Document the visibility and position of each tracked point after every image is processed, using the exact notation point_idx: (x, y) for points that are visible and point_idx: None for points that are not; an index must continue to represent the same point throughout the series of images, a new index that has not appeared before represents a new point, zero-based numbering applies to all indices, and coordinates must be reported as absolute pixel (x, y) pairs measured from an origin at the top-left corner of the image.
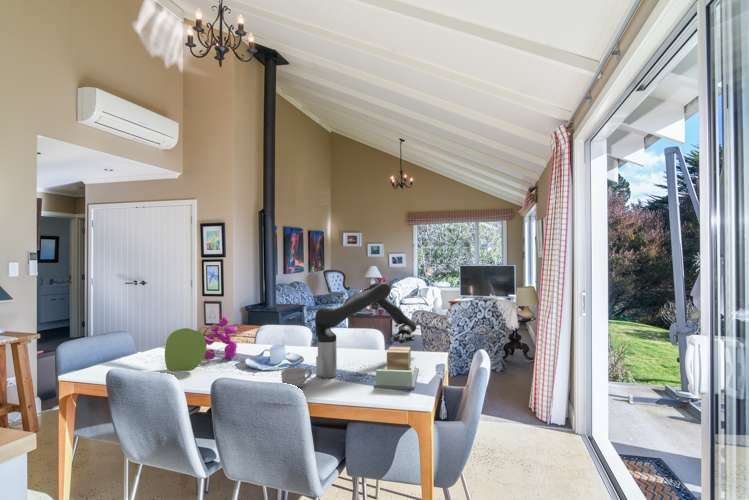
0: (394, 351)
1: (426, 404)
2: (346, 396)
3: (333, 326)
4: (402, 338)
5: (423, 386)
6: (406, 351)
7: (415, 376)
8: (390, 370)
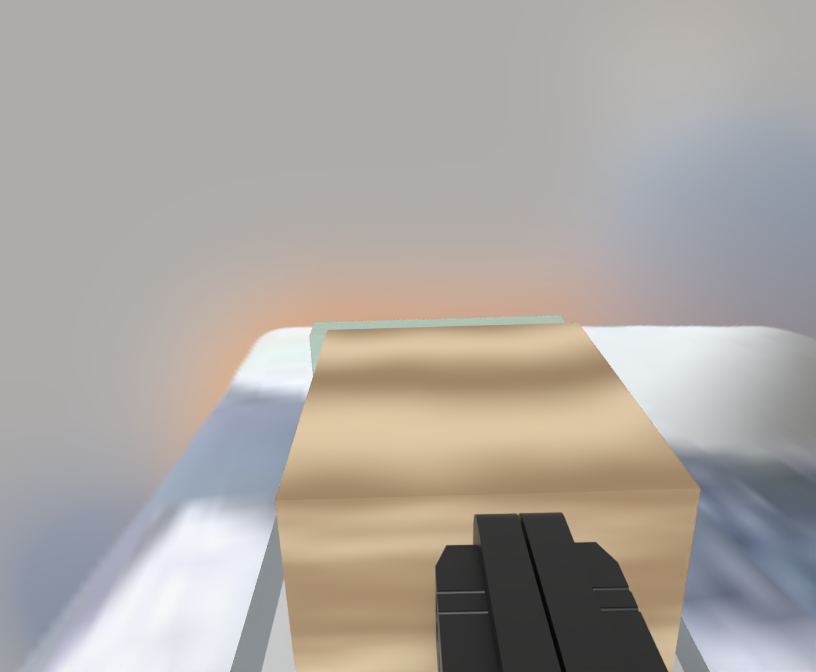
0: (498, 339)
1: (267, 337)
2: (643, 346)
3: None
4: (510, 588)
5: (238, 463)
6: (350, 350)
7: (275, 555)
8: (463, 324)
